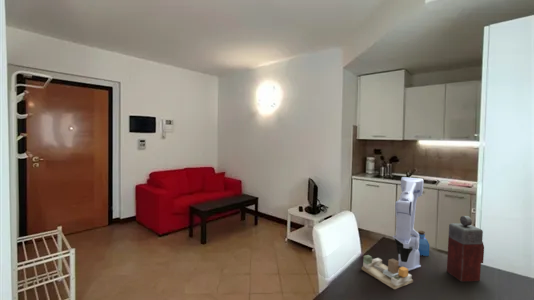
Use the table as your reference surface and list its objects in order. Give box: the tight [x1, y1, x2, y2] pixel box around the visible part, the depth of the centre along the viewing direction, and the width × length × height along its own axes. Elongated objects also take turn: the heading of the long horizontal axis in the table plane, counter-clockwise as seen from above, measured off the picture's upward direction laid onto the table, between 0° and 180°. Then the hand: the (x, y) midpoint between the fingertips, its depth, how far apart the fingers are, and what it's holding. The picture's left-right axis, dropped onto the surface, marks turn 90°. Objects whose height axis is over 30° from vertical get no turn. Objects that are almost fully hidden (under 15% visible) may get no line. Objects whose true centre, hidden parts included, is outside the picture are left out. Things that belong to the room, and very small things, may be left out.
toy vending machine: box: [446, 215, 485, 282], centre depth 121 cm, size 9×11×28 cm
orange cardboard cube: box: [398, 267, 409, 277], centre depth 115 cm, size 3×2×3 cm
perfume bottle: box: [417, 230, 430, 257], centre depth 145 cm, size 6×6×12 cm
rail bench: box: [361, 254, 414, 290], centre depth 121 cm, size 12×18×6 cm, turn 27°
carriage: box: [383, 258, 400, 278], centre depth 118 cm, size 7×5×6 cm
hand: (402, 257), depth 117 cm, fingers open, 7 cm apart
